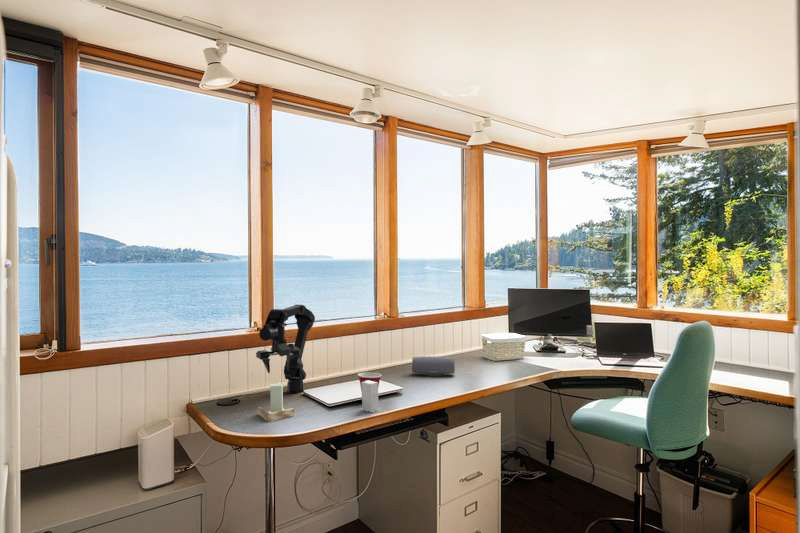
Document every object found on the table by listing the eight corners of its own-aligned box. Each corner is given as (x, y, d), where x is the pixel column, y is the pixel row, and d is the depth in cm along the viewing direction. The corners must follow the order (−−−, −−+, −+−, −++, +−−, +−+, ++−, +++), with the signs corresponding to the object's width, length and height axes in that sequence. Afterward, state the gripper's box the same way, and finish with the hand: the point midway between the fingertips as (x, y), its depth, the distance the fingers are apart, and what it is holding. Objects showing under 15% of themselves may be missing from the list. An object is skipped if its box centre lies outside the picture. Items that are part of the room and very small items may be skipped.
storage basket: (513, 354, 317) (513, 331, 317) (527, 359, 302) (527, 335, 302) (480, 357, 309) (480, 334, 309) (493, 362, 294) (493, 338, 294)
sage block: (282, 411, 202) (282, 382, 202) (282, 415, 197) (281, 385, 197) (271, 412, 201) (271, 383, 201) (270, 415, 197) (270, 386, 196)
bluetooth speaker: (454, 373, 267) (454, 355, 267) (454, 377, 258) (454, 358, 258) (413, 372, 270) (413, 354, 269) (412, 376, 260) (411, 358, 260)
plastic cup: (386, 398, 220) (386, 372, 220) (373, 405, 211) (373, 377, 210) (366, 395, 226) (366, 369, 225) (353, 401, 216) (352, 374, 216)
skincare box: (379, 410, 203) (378, 382, 203) (371, 413, 200) (371, 384, 200) (369, 407, 208) (368, 379, 207) (361, 410, 204) (361, 381, 204)
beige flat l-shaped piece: (283, 409, 206) (283, 402, 206) (294, 415, 197) (294, 408, 197) (257, 414, 200) (257, 407, 199) (268, 421, 191) (268, 414, 191)
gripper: (265, 341, 207) (265, 378, 207) (305, 337, 218) (305, 371, 218) (255, 338, 215) (255, 373, 216) (294, 334, 227) (294, 367, 227)
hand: (278, 371), depth 219 cm, fingers open, 9 cm apart
